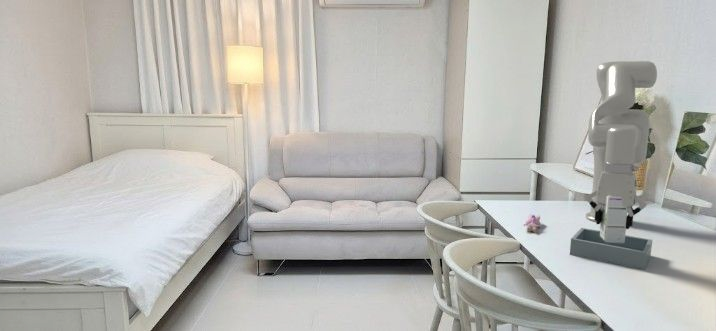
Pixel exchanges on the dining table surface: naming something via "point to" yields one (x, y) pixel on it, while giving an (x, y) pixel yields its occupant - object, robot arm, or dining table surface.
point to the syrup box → (613, 220)
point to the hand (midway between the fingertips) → (612, 225)
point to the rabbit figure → (533, 223)
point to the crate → (611, 249)
